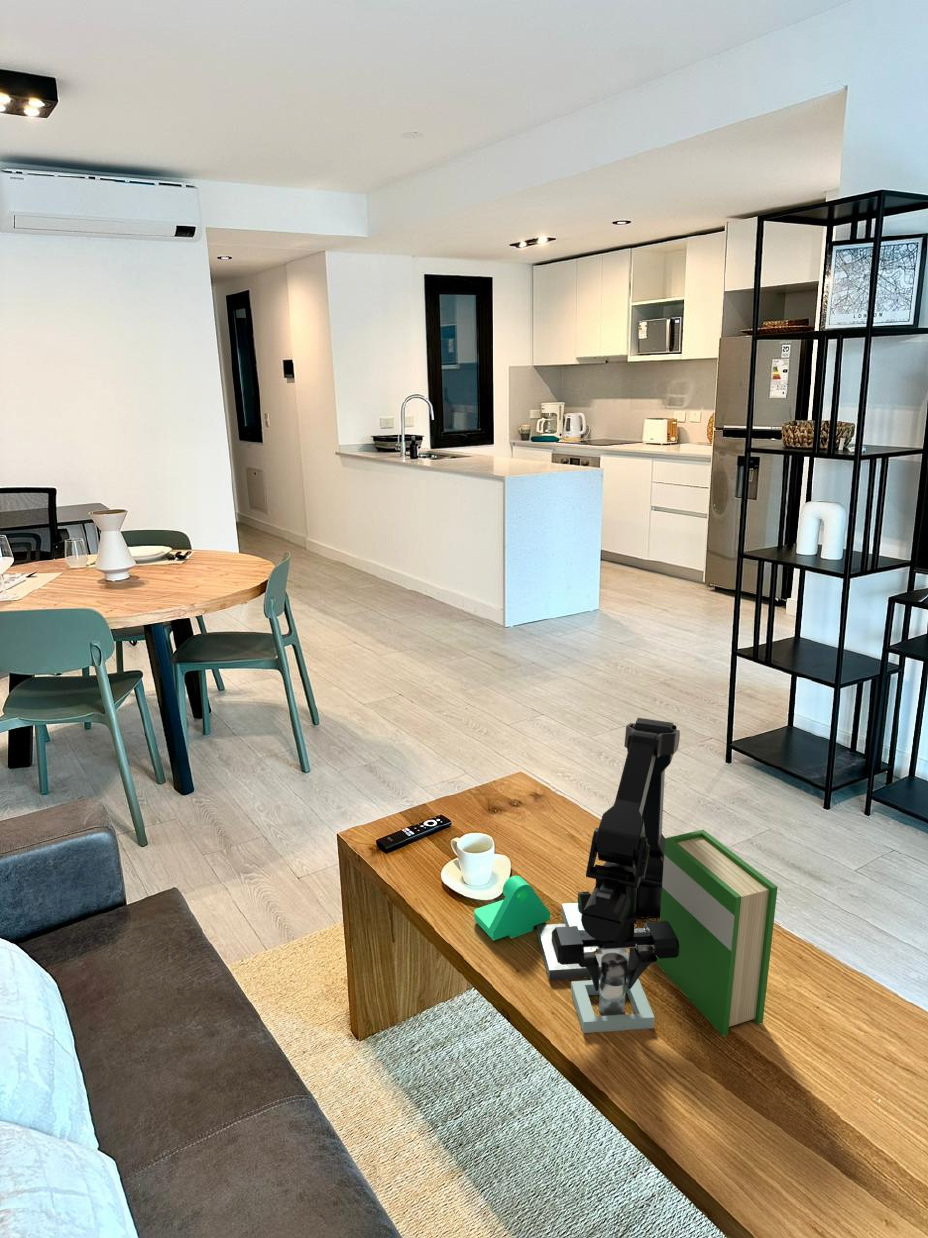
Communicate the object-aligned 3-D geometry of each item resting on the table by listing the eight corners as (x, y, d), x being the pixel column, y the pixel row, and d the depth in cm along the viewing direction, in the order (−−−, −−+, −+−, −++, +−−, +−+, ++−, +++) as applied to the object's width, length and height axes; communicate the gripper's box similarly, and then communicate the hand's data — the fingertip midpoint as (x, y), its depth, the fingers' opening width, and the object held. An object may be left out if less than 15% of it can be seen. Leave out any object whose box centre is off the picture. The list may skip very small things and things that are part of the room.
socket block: (613, 930, 152) (614, 920, 151) (632, 975, 140) (632, 965, 140) (537, 934, 151) (537, 925, 150) (549, 980, 139) (549, 970, 138)
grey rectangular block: (577, 914, 156) (577, 902, 156) (587, 942, 149) (587, 929, 148) (561, 915, 156) (561, 903, 155) (570, 943, 148) (570, 930, 148)
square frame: (637, 987, 137) (637, 977, 137) (653, 1028, 129) (654, 1017, 128) (570, 992, 136) (571, 981, 136) (583, 1033, 128) (583, 1022, 127)
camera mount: (527, 903, 160) (528, 855, 157) (549, 925, 153) (551, 876, 151) (472, 922, 154) (472, 873, 152) (493, 946, 148) (493, 895, 145)
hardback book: (762, 1023, 130) (777, 886, 123) (723, 1036, 127) (736, 897, 121) (693, 953, 145) (703, 829, 139) (656, 964, 143) (665, 838, 136)
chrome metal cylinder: (620, 1000, 135) (623, 952, 132) (627, 1018, 131) (630, 969, 128) (595, 1001, 134) (598, 953, 132) (601, 1019, 130) (604, 970, 128)
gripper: (660, 868, 136) (654, 951, 140) (546, 874, 134) (544, 958, 138) (683, 910, 125) (676, 998, 129) (559, 917, 124) (557, 1006, 128)
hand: (612, 988), depth 131 cm, fingers open, 5 cm apart
